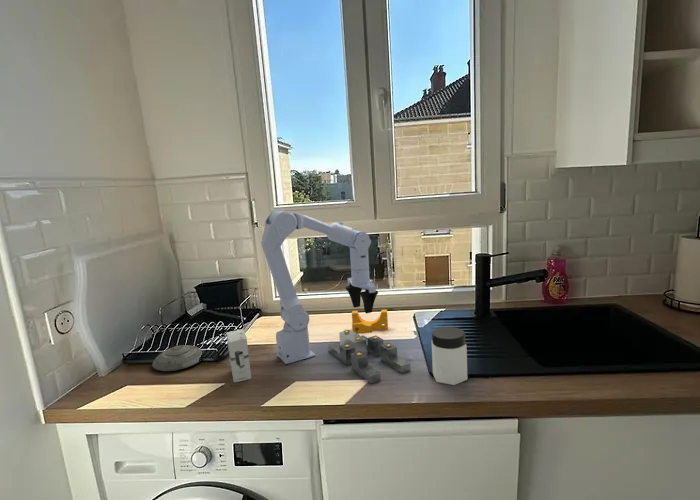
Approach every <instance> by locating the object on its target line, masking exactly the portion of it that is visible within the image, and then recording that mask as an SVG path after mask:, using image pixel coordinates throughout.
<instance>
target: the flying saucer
mask: <svg viewBox="0 0 700 500" xmlns="http://www.w3.org/2000/svg"><path fill="white" fill-rule="evenodd" d="M202 351H203V350H202V349H201V348H199V347H197V346H195V345H190V344H189V345H188V344H183V345H182V344H181V345H175V346H173V347H170V348H166V349H165V350H164V351H162V352H160V353H159V354H158V355H157V356H156V357H155V358H154V359H153V361H152V365H151V366H152V368H153V369H154V370H156V371H162V372H172V371H173V372H175V371H179V370H184V369H186V368H189V367H192V366H194V365H196V364H198V363H199V362H200V361H199V358H200V357H201V355H202Z"/></svg>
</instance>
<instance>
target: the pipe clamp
mask: <svg viewBox="0 0 700 500" xmlns="http://www.w3.org/2000/svg"><path fill="white" fill-rule="evenodd" d="M351 321H352V322H351V330H352V331H354V332H355V333H357V334H358V333H359V334H361V333H372V332H373V331H384V330H385V331H386V330H387V331H388V330H389V320H388V309H381V313H380V315H379V316H378V318H377V319H374V320H372V321H370V320H369V321H368V320H364V319H363V318H362V317H361V316H360V314H359V311H358V310H352V311H351Z"/></svg>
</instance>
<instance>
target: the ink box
mask: <svg viewBox="0 0 700 500" xmlns="http://www.w3.org/2000/svg"><path fill="white" fill-rule="evenodd" d="M226 339H227V348H228V356H229V357H228V358H229V363H230V371H231V374H232V375H231V376H232V381H233V383H238V382H242V381H243V382H244V381H247V380H251V379H252V373H251V372H252V371H251V364H250V363H251V362H250V356H249V347H248V339H247V335H246V332H245V329H244V328H242V329H237V330H233V331H228V332H226Z"/></svg>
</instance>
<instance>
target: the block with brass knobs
mask: <svg viewBox="0 0 700 500" xmlns="http://www.w3.org/2000/svg"><path fill="white" fill-rule="evenodd" d="M338 334H339V344H340V345H344V344H347V343H349V344H350V345H352V346H353V347H355V353H356V352H359V351H361V352H362V353H364V354H365V355H367V356H368V351H367V344H366V339H365V338H363V337H362V335H360V334H358V333H355V332H354V331H352V329H344V330H343V331H340V332H339V333H338Z"/></svg>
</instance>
